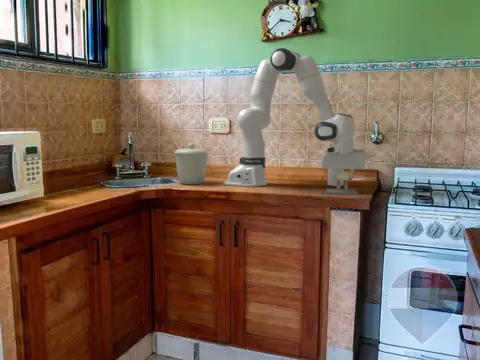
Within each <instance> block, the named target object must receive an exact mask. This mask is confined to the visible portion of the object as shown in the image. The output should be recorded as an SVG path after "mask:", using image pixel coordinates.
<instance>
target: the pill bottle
mask: <svg viewBox="0 0 480 360" xmlns="http://www.w3.org/2000/svg"><path fill="white" fill-rule="evenodd" d="M327 169H328V171H327V185H328V186H331V187H337V178H334V174H333V172H332V168H327ZM334 172H335V174H337V173H345V169H336V168H335V171H334ZM342 186H343V187H344V180H340V187H342Z"/></svg>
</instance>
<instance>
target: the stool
mask: <svg viewBox="0 0 480 360" xmlns="http://www.w3.org/2000/svg"><path fill="white" fill-rule="evenodd" d="M349 175H350V174H349V173H348V172H344V173H337V186H336V189H337V190H340V189H341V186H340V180H343V189H345V190H348V185H349V180H350V179H349Z"/></svg>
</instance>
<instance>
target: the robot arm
mask: <svg viewBox="0 0 480 360" xmlns="http://www.w3.org/2000/svg"><path fill="white" fill-rule="evenodd" d="M281 74H282V75H288V74H289V75H291V74H294V75H295V76H296V79H297V81H298V85H299V88H300V90H301V93H302V94H303V96H304V97H306V98H307V99H309V100H310V101H311V102H312V103H313V104H314V105H315V106H316V108H317V110H318V113H319V115H320V116H319V117H320V118H321V121H319V122H318V123H316V125H315V126H314V135H315V138H316V139H318V140H320V141H322V142H333V145H329V146H326V147H324V149H323V150H324V152H323V154H322V156H321V163H320V167H321V168H322V169H328V168H332V172H333V174H334V178H337V174H335V172H334V171H335V168H336V169H344V170H350V173H349V174H348V175H349V179H348V180H350V179H352V175H353V173H354V171H355V170H364V169H365V168H366V158H367V151H366V150H364V149H363V148H362V149H358V148H354V143H355V142H354V135H355V120H354V117H353V116H352V115H351V114H347V113H337V114H335V113H334V111H333V109H332V105H331V103H330V100H329V98H328V96H327V95H328V94H327V92H326V88H325V85H324V81H323V76H322V74H321V71H320V69H319V66H318V64H317V63H316V60H315V58H314V57H313V56H310V55H304V56H301V55H300V53H298V52H296V51H295V50H292V49H289V48H285V47H278V48H275V49H274V50H273V51H272V53H271V54H270V57H269V58H267V59H262V60H261V62H260V63H259V65H258V67H257V70H256V73H255V76H254V79H253V82H252V85H251V89H250V90H251V91H250V93H249V94H250V100H251V101H250V102H251V103H250V107H247V108H244V109H242V110H240V111H239V113H238V114H237V116H236V117H237V118H236V121H237V124H238V126H239V127H240V132H241V136H242V145H243V147H242V150H243V151H242V153H243V154H242V156H241V157H239V160H238V161H239V162H238V163H239V164H238V165H237V166H236V167H234V168H233V169H231V170H230V172H229V173H228V177H227V180H224V182H223V185H225V186H233V187H235V186H237V187H238V186H239V187H259V186H260V187H261V186H267V185H268V182H267V176H266V163H267V161H266V160H267V159H266V156H265V154H266V153H265V152H266V141H265V139H264V137H263V131H262V130H265V128H267V127H269V126H270V124H271V122H272V117H271V109H272V108H271V106H272V105H271V104H272V101H273V95H274V92H275V88H276V85H277V81H278V79H279V76H280V75H281Z"/></svg>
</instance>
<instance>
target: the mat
mask: <svg viewBox="0 0 480 360" xmlns="http://www.w3.org/2000/svg"><path fill="white" fill-rule="evenodd" d="M326 194H334V195H335V194H336V195H337V194H338V195H339V194H340V195H341V194H342V195H359V192H358V190H357V189H348V190H345V188H340V190H337V188H326Z"/></svg>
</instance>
